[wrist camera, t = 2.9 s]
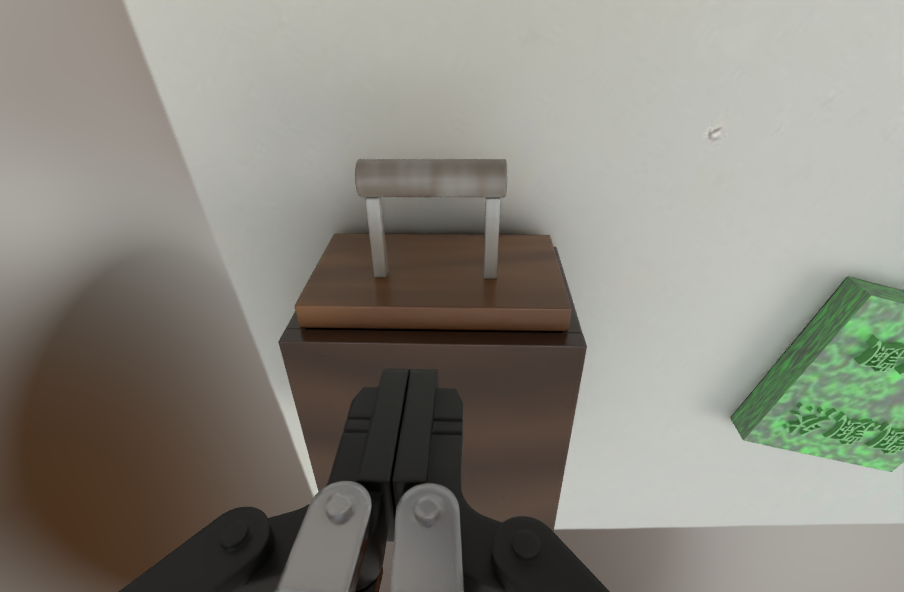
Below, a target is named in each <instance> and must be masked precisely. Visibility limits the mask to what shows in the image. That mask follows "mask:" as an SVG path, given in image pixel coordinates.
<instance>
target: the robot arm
mask: <svg viewBox="0 0 904 592" xmlns="http://www.w3.org/2000/svg"><path fill="white" fill-rule="evenodd" d="M343 430H344V431H343V433H342V436H341V439H340V443H339V446H338V450H337V453H336V456H335V460H334V463H333V467H332V470H331V473H330V477H329V480H328V483H327V485H326V487H324V488H323V489H322V490H320V491H319V492H318V493H317V494H316V495H315V496H314V498H313V499H312V501H311V503H310V504H308V505H307V506H305V507H303V508H301V509H299V510H296V511H293V512H289V513H286V514H282V515H278V516H274V517H271V518H267V516H266V515H265V513H264V512H262V511H261V510H259V509H257V508H254V507H239V508H235V509H233V510H230V511H228V512H226V513H224V514H222V515H221V516H219V517H218V518H217V519H216V520H214V521H213V522H211V523H210V524H209V525H208V526H206V527H205V528H203V529H202V530H201V531H200V532H198V533H197V534H195V535H194V536H193V537H191V538H190V539H189V540H187V541H186V542H185V543H183V544H182V545H181V546H179V547H178V548H177V549H175V550H174V551H173V552H171V553H170V554H169V555H167V556H166V557H164V558H163V559H162V560H161V561H159V562H158V563H156V564H155V565H154V566H152V567H151V568H150V569H148V570H147V571H146V572H145V573H143V574H142V575H141V576H139V577H138V578H136V579H135V580H134V581H132V582H131V583H130V584H128V585H127V586H126V587H124V588H123V589H122V590H120V591H119V592H379V588H380V584H381V580H382V574H383V566H382V565H383V560H384V554H385V548H386V541H393V542H394V548H393V563H392V578H391V592H609V590H607V588H606V587H605V586H604V585H603V584H602V583H601V582H600V581H599V580H598V579H597V578H596V577H595V576H594V575H593V574H592V573H591V572H590V570H589V569H588V568H587V567H586V566H585V565H584V564H583V563H582V562H581V561H580V560H579V559H578V558H577V557H576V555H575V554H574V553H573V552H572V551H571V550H570V549H569V548H568V547H567V546H566V545H565V544H564V543H563V542H562V541H561V540H560V539H559V538H558V536H557V535H556V534H555V533H554V532H553V531H552V530H551V529H550V528H549V527H548V526H547V525H546V524H544V523H543V522H541V521H539V520H537V519H535V518H532V517H527V516H517V517H512V518H510V519H507V520H506V521H504V522H503V523H502V522H499V521H497V520H494V519H491V518H488V517H486V516H483V515H481V514H480V513H478V512H476V511H475V510H474V509H473V508H471V506H470V505H469V504H468V503H467V502H466V500H465V498H464V496H463V494H462V465H463V402H462V400H461V398H460V396H459V394H458V392H457V390H456V389H451V388H439V381H438V369H411V371H410V369H392V368H384V369H383V371H382V374H381V378H380V382H379V387H363V388H362V389H361V391H360V392H359V393H358V394H357V395H356V396H355V398H354V399H353V400H352V402H351V405H350V409H349V412H348V416H347V420H346V422H345V426H344V429H343Z"/></svg>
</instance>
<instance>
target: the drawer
mask: <svg viewBox="0 0 904 592" xmlns="http://www.w3.org/2000/svg"><path fill="white" fill-rule="evenodd" d="M355 183H356V189H357V192H358V195H359V196H360V197H366V198H365V203H366V211H367V220H368V228H369V234H334V235H333V237H332V239H331V241H330V242H329V244H328V246H327V248H326V250H325V251H324V253H323V255H322V257H321V259H320V260H319V262H318V264H317V266H316V268H315V270H314V271H313V273H312V275H311V277H310V279H309V280H308V282H307V284H306V286H305V288H304V290H303V291H302V293H301V295H300V297H299V299H298V300H297V302H296V304H295V309H296V314H297V318H298V322H299V326H300V327H303V328H333V330H375V331H445V332H515V333H542V332H541V331H568V329H569V323H570V316H571V310H572V309H571V306H570V302H569V299H568V295H567V292H566V289H565V285H564V282H563V278H562V275H561V272H560V268H559V265H558V261H557V258H556V254H555V251H554V248H553V244H552V241H551V237H550V235H499V218H500V197H505V196H506V189H507V161H506V160H505V159H359V160H358V161H357V163H356V168H355ZM381 197H485V231H484V235H446V234H385V229H384V219H383V208H382V198H381Z"/></svg>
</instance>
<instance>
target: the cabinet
mask: <svg viewBox="0 0 904 592" xmlns="http://www.w3.org/2000/svg"><path fill="white" fill-rule="evenodd" d="M553 248H554V251H555V254H556V258H557V261H558V265H559V268H560V272H561V275H562V278H563V282H564V285H565V289H566V292H567V295H568V299H569V302H570V306H571V309H572V310H571V316H570V323H569V329H568V331H541V332H542V333H515V332H445V331H375V330H333V328H303V327H300V326H299V322H298V318H297V314H296V311H295V313H294V314H293V316H292V318H291V320H290V322H289V324H288V325H287V327H286V329H285V331H284V333H283V335H282V336H281V338H280V340H279V345H280V349H281V353H282V357H283V360H284V364H285V368H286V372H287V375H288V379H289V383H290V386H291V390H292V394H293V398H294V401H295V405H296V409H297V413H298V416H299V420H300V424H301V428H302V431H303V435H304V439H305V443H306V446H307V450H308V454H309V458H310V461H311V465H312V469H313V473H314V476H315V480H316V484H317V487H318V491H320V490H322V489H323V488H324V487H326V485H327V483H328V480H329V477H330V473H331V470H332V467H333V463H334V460H335V456H336V453H337V450H338V446H339V443H340V439H341V436H342V433H343V431H344V430H343V429H344V426H345V422H346V420H347V416H348V412H349V409H350V405H351V402H352V400H353V399H354V398H355V396H356V395H357V394H358V393H359V392H360V391H361V389H362V388H363V387H379V382H380V378H381V374H382V371H383V369H384V368H392V369H410V371H411V369H438V381H439V388H451V389H456V390H457V392H458V394H459V396H460V398H461V400H462V402H463V465H462V494H463V496H464V498H465V500H466V502H467V503H468V504H469V505H470V506H471V508H473V509H474V510H475V511H476V512H478V513H480V514H481V515H483V516H486V517H488V518H491V519H494V520H497V521H499V522H502V523H503V522H504V521H506V520H507V519H510V518H512V517H517V516H527V517H532V518H535V519H537V520H539V521H541V522H543V523H544V524H546V525H547V526H548V527H549V528H550V529H551V530H552V531H554V526H555V520H556V515H557V509H558V503H559V498H560V492H561V487H562V481H563V476H564V470H565V465H566V459H567V454H568V448H569V443H570V437H571V432H572V426H573V421H574V415H575V409H576V404H577V398H578V393H579V387H580V382H581V376H582V371H583V365H584V360H585V354H586V349H587V346H586V342H585V339H584V336H583V334H582V330H581V327H580V323H579V320H578V317H577V314H576V310H575V307H574V304H573V300H572V297H571V294H570V290H569V287H568V284H567V281H566V277H565V274H564V271H563V267H562V264H561V261H560V257H559V254H558V251H557V248H556V247H553Z"/></svg>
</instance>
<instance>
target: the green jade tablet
mask: <svg viewBox="0 0 904 592" xmlns="http://www.w3.org/2000/svg"><path fill="white" fill-rule="evenodd" d="M731 420H732V422H733V424H734V425H735V427H736V429H737V430H738V432H739V434H740V436H741V437H742V439H743V440H744V441H748V442H753V443H758V444H762V445H767V446H772V447H776V448H781V449H786V450H790V451H795V452H800V453H804V454H809V455H814V456H819V457H823V458H828V459H833V460H837V461H842V462H847V463H851V464H856V465H861V466H865V467H870V468H875V469H879V470H884V471H889V472H892V471H893V470H895V469H896V468H897V467H898V466H899V465H901V464H902V463H903V462H904V291H902V290H898V289H894V288H890V287H886V286H882V285H878V284H874V283H870V282H867V281H863V280H859V279H855V278H851V277H847V279H846V280H845V281H844V282H843V283H842V285H841V286H840V287H839V288H838V289H837V291H836V292H835V293H834V294H833V295H832V297H831V298H830V299H829V300H828V301H827V303H826V304H825V305H824V306H823V307H822V309H821V310H820V311H819V312H818V314H817V315H816V316H815V317H814V318H813V320H812V321H811V322H810V323H809V324H808V326H807V327H806V328H805V329H804V330H803V332H802V333H801V334H800V335H799V336H798V338H797V339H796V340H795V341H794V342H793V344H792V345H791V346H790V347H789V348H788V350H787V351H786V352H785V353H784V354H783V356H782V357H781V358H780V359H779V361H778V362H777V363H776V364H775V365H774V367H773V368H772V369H771V370H770V371H769V373H768V374H767V375H766V376H765V377H764V379H763V380H762V381H761V382H760V383H759V385H758V386H757V387H756V388H755V389H754V391H753V392H752V393H751V394H750V395H749V397H748V398H747V399H746V400H745V401H744V403H743V404H742V405H741V406H740V407H739V409H738V410H737V411H736V412H735V414H734V415H733V416H732V417H731Z"/></svg>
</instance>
